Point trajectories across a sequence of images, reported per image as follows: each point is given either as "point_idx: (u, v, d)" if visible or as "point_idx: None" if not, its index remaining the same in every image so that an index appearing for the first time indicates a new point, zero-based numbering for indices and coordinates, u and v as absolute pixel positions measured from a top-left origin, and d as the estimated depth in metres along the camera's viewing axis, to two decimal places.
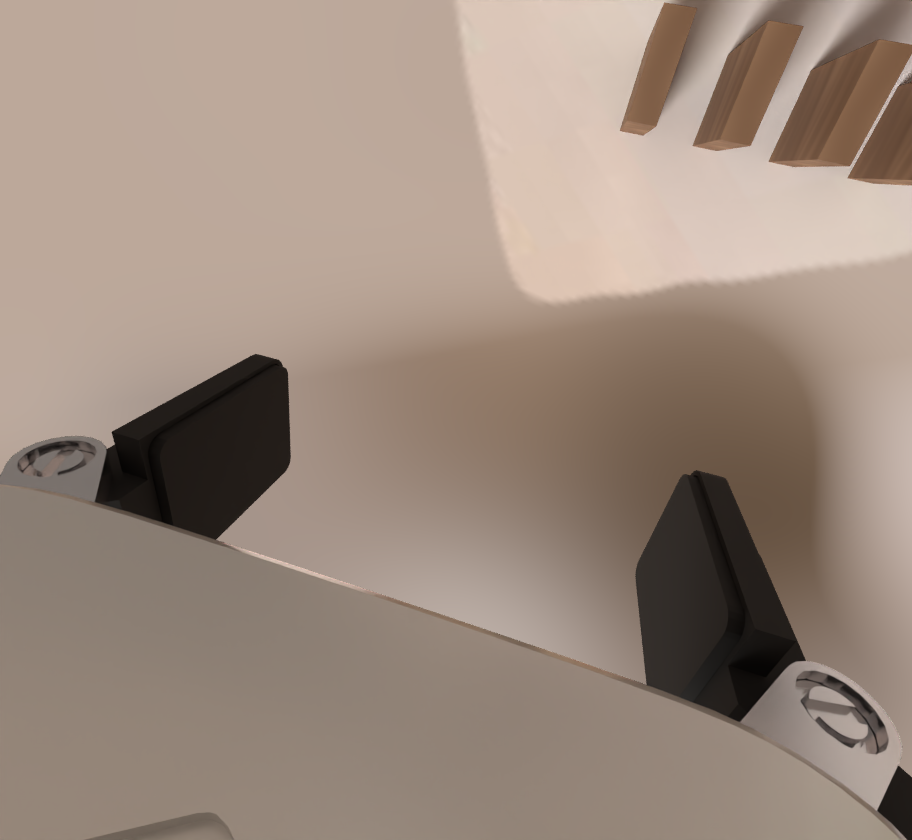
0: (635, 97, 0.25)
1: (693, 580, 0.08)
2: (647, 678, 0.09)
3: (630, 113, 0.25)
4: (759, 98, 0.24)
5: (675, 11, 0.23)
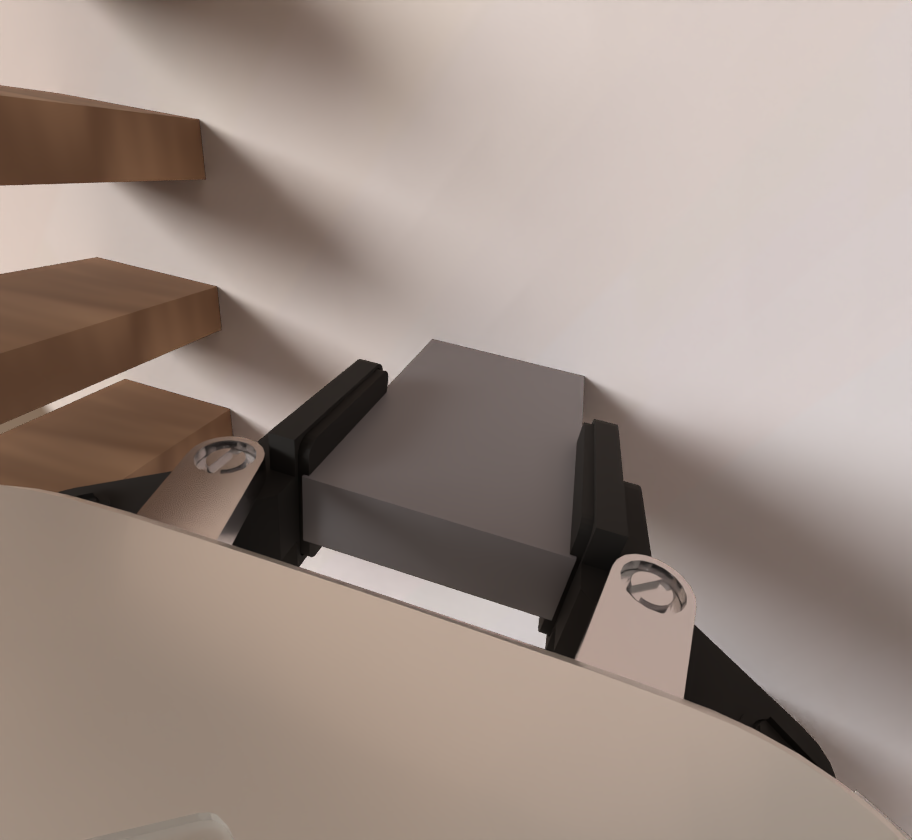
0: None
1: None
2: None
3: None
4: None
5: None
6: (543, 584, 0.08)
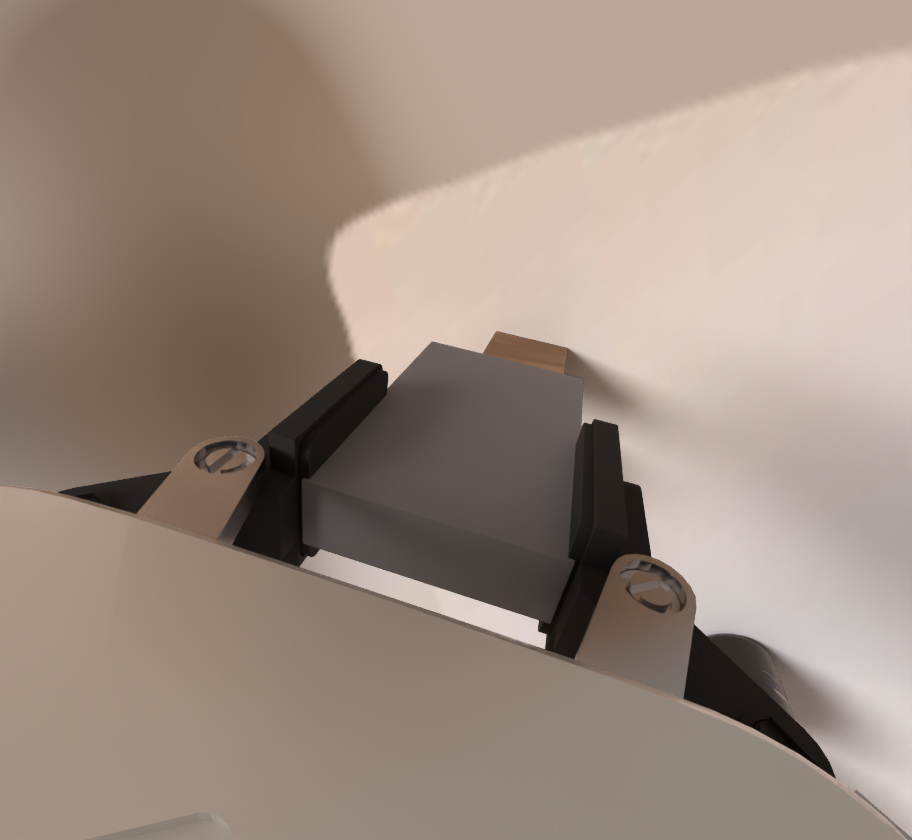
0: None
1: (572, 504, 0.09)
2: None
3: None
4: None
5: None
6: (542, 588, 0.08)
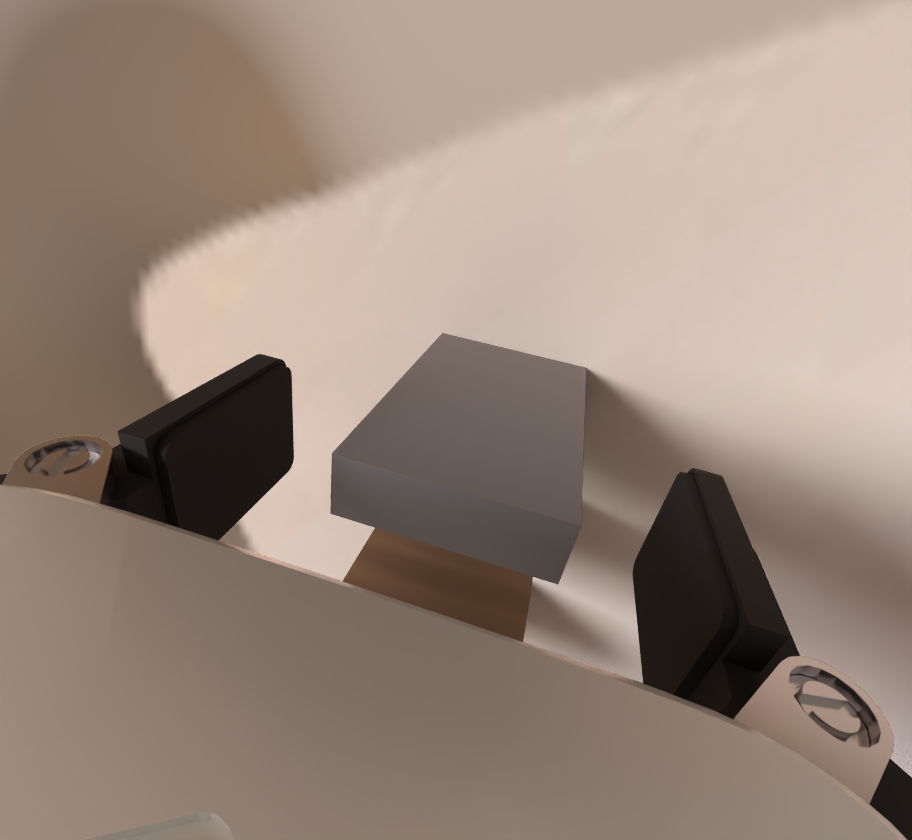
0: None
1: (689, 577, 0.08)
2: (643, 673, 0.09)
3: None
4: None
5: None
6: (551, 550, 0.09)
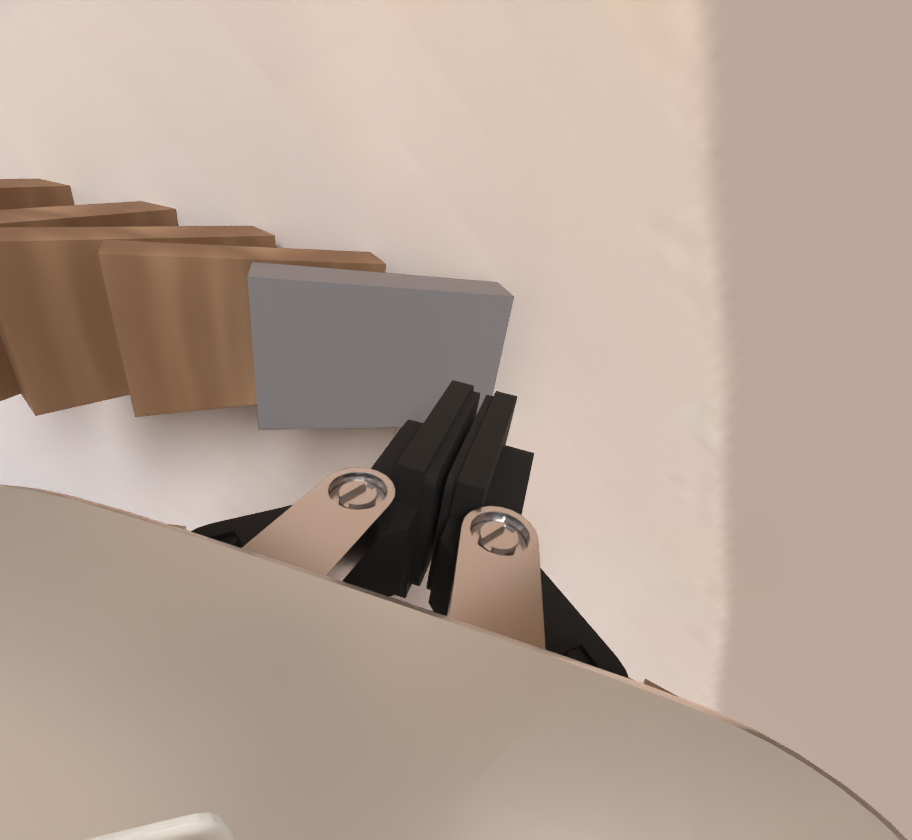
0: (107, 293, 0.13)
1: None
2: None
3: None
4: None
5: None
6: None
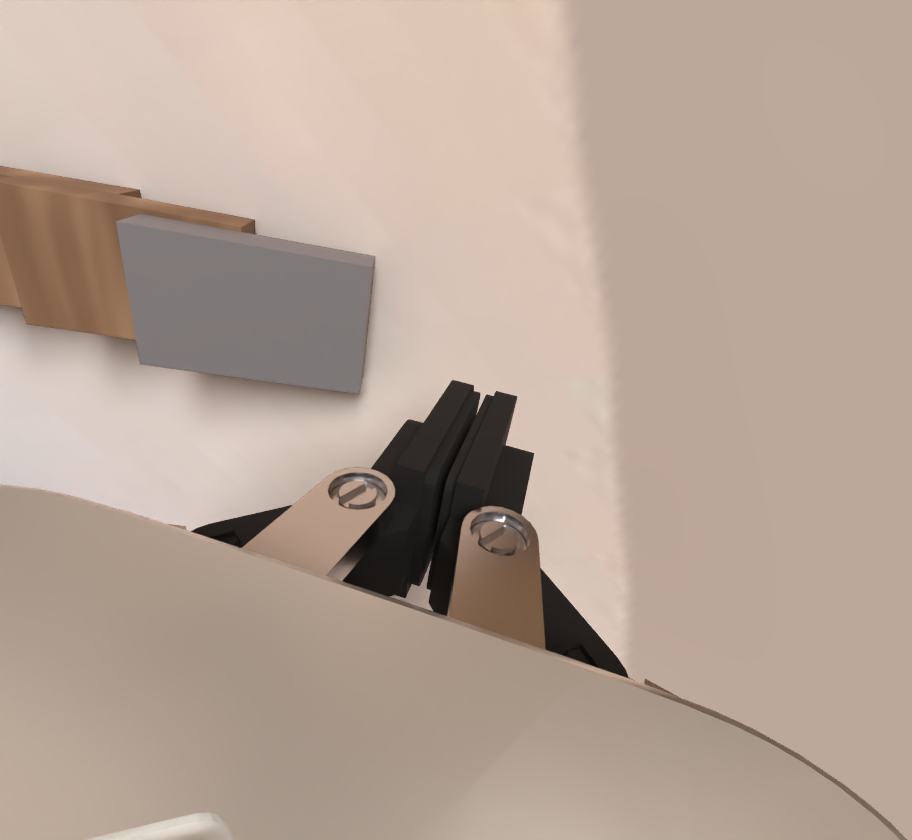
0: None
1: None
2: None
3: None
4: None
5: None
6: None
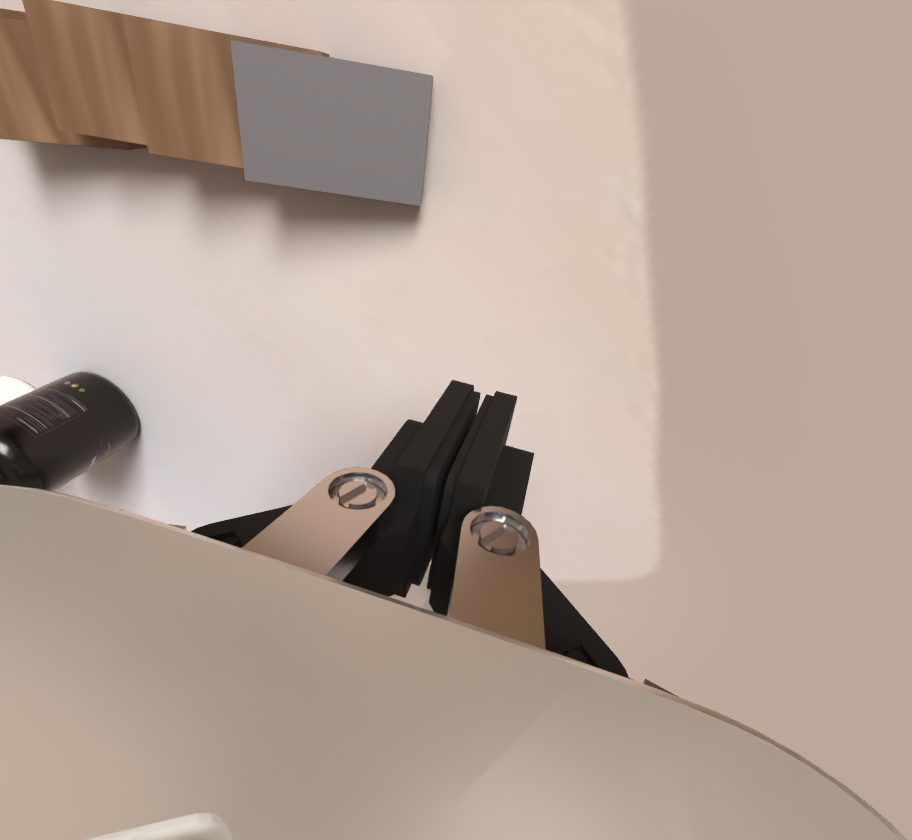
0: (128, 47, 0.20)
1: None
2: None
3: (124, 25, 0.19)
4: None
5: None
6: None
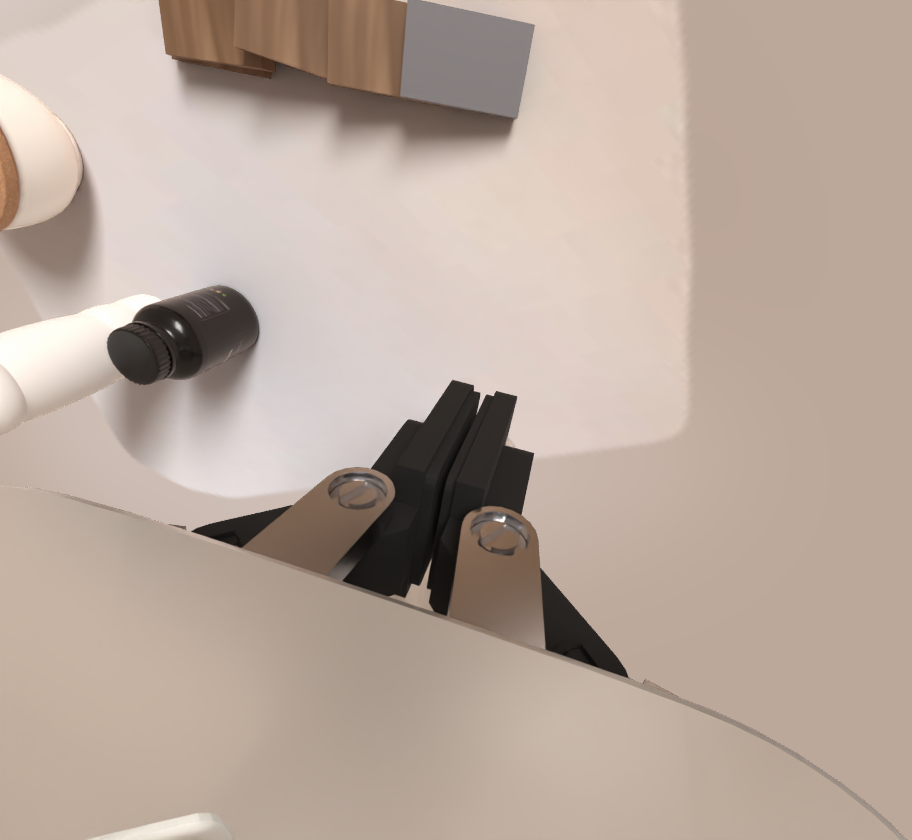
0: (328, 8, 0.30)
1: None
2: None
3: None
4: None
5: None
6: None
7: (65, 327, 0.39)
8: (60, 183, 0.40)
